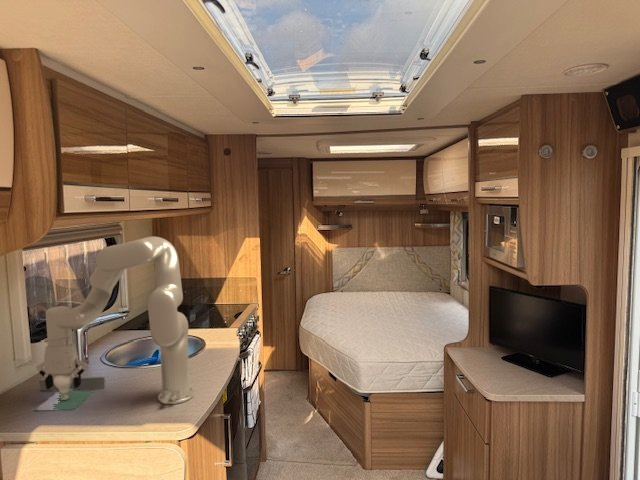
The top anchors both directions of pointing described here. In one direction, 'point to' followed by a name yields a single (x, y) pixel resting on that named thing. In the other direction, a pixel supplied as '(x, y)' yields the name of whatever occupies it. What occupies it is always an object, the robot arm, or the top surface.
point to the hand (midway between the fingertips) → (63, 387)
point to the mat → (72, 400)
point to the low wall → (85, 383)
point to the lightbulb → (63, 384)
